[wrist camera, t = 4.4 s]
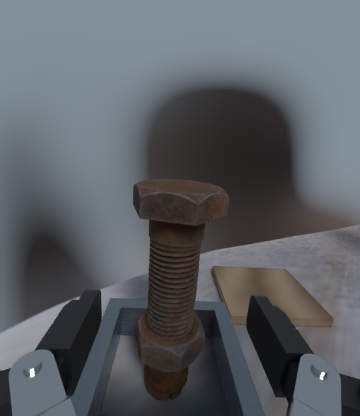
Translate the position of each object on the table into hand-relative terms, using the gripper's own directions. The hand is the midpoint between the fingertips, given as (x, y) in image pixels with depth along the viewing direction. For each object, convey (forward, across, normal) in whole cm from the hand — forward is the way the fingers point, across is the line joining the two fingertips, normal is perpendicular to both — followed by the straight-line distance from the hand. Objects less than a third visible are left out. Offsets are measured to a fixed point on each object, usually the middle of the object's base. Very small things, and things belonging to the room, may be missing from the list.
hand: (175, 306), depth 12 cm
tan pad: (+14, -12, +9) cm, 20 cm away
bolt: (+3, 0, +9) cm, 10 cm away
